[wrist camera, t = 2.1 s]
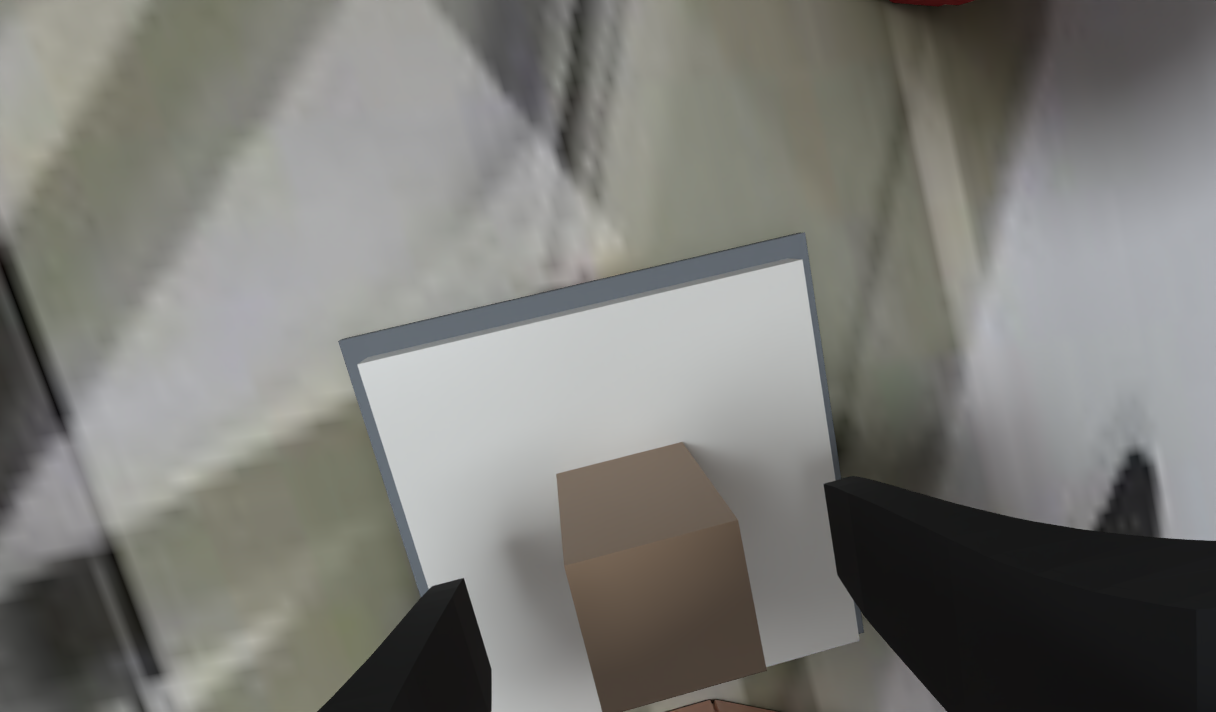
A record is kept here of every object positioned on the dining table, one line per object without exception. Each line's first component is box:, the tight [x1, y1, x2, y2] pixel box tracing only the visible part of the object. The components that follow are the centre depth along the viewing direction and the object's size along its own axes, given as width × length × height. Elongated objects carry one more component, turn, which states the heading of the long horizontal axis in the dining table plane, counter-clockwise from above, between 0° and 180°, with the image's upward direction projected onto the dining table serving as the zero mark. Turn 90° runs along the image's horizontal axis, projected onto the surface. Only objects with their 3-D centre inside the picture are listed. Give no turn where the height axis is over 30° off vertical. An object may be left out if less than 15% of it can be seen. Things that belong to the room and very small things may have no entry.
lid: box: [357, 258, 860, 712], centre depth 13 cm, size 10×10×5 cm
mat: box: [338, 233, 864, 634], centre depth 15 cm, size 11×11×1 cm
